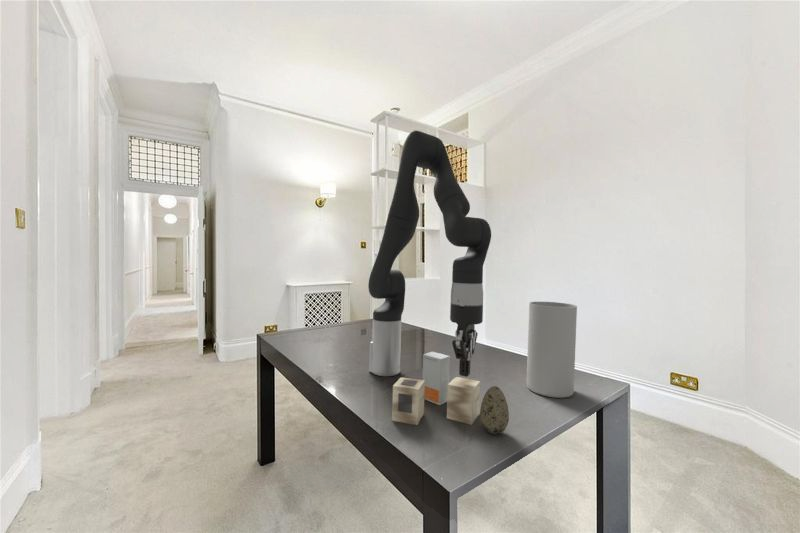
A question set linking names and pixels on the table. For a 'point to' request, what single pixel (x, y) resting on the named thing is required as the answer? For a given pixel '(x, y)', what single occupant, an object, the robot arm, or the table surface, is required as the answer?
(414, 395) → the marked block
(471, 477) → the table surface
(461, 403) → the birch block
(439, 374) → the skincare box
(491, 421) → the decorative egg
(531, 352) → the cylinder vase
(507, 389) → the table surface
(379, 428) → the table surface
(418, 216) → the robot arm
